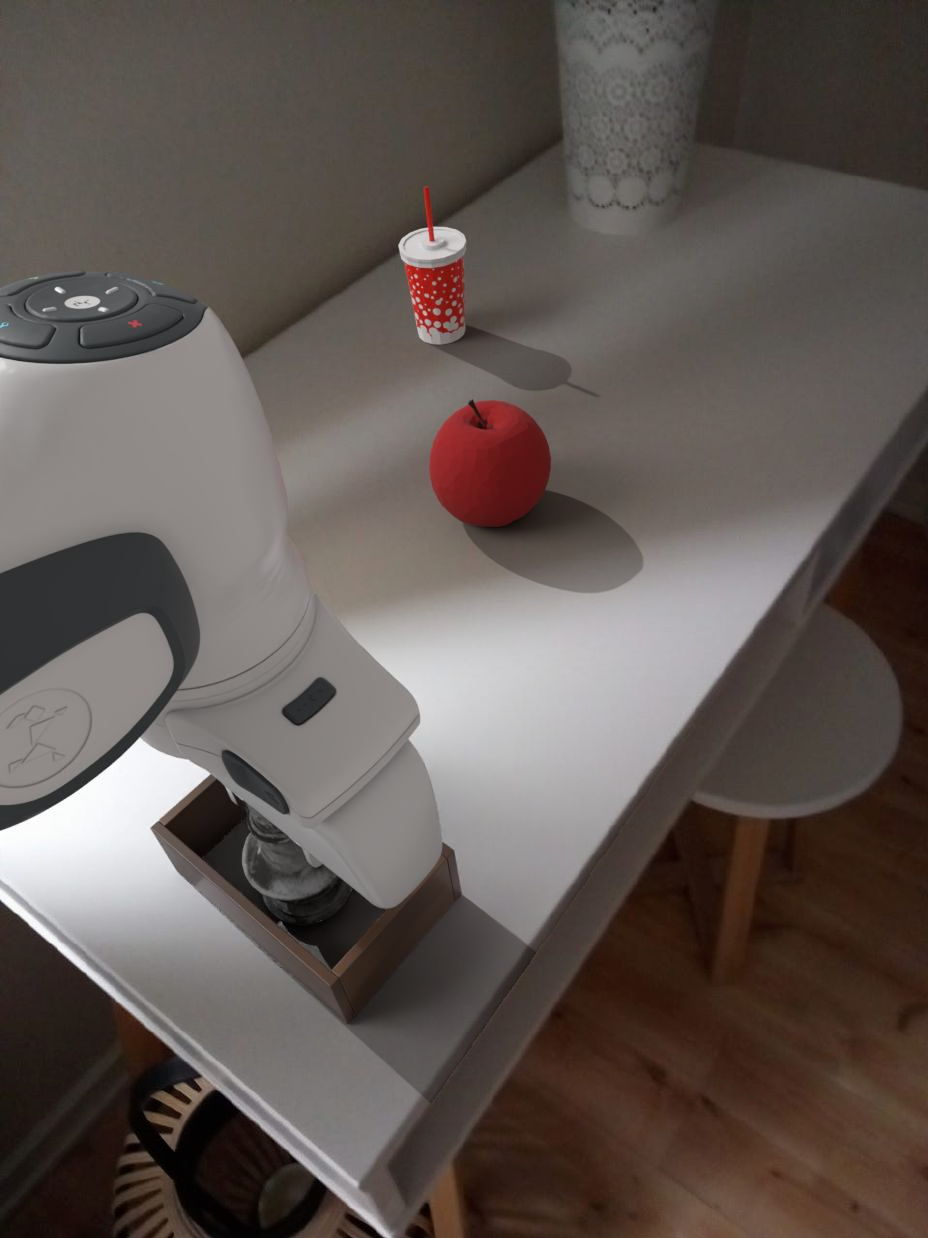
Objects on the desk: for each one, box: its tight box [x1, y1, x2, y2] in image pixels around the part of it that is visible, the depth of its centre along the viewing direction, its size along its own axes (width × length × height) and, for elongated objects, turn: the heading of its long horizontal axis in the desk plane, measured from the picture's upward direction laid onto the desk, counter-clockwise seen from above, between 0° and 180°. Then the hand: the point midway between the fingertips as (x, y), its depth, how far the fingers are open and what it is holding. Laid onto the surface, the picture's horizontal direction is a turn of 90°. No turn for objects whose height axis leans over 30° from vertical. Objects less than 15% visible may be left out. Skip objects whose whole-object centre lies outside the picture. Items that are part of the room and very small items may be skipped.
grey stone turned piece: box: [241, 803, 354, 926], centre depth 51 cm, size 6×6×12 cm
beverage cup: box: [397, 185, 467, 346], centre depth 89 cm, size 6×6×14 cm
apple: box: [428, 398, 552, 528], centre depth 72 cm, size 9×9×10 cm
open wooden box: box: [150, 773, 463, 1025], centre depth 54 cm, size 9×14×5 cm, turn 50°
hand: (286, 825), depth 50 cm, fingers closed on grey stone turned piece, 3 cm apart
